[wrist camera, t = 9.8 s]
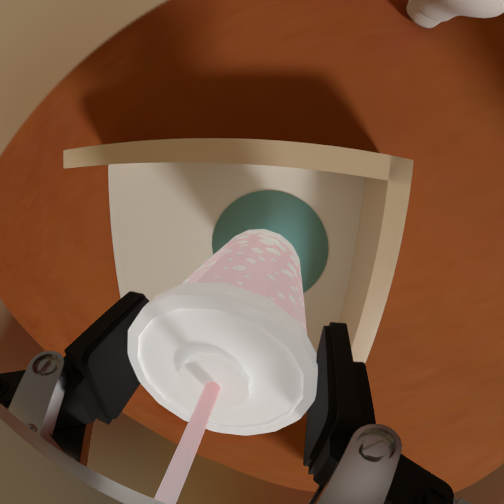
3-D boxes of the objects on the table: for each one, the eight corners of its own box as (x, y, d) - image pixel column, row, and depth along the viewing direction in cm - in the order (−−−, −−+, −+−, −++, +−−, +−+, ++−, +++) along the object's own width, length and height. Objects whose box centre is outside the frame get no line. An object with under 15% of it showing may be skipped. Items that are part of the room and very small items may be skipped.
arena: (382, 158, 16) (413, 160, 11) (336, 372, 22) (339, 420, 17) (113, 146, 19) (63, 150, 14) (132, 335, 25) (102, 369, 20)
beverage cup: (269, 192, 14) (63, 439, 1) (334, 279, 15) (360, 553, 2) (189, 255, 17) (12, 440, 4) (252, 328, 17) (177, 545, 5)
